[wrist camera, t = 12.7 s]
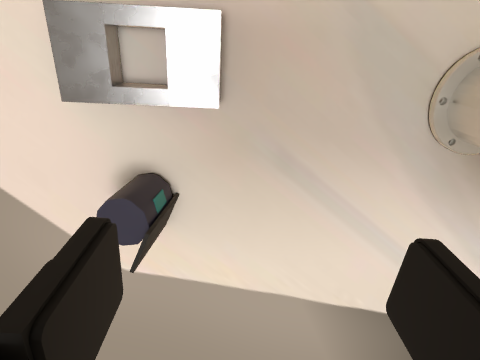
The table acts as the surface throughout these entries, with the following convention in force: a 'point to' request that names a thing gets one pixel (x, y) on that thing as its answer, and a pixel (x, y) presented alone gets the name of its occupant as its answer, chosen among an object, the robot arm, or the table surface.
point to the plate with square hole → (109, 62)
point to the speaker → (140, 212)
